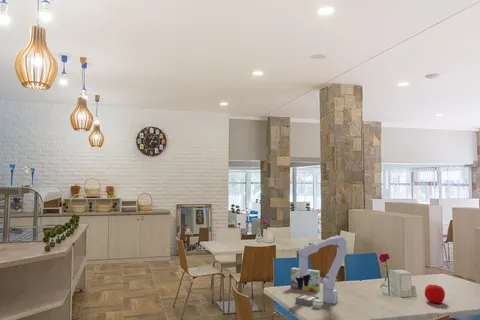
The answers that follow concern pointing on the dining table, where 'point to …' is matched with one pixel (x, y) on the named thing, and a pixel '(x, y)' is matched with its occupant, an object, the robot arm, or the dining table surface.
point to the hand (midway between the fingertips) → (303, 287)
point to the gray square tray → (304, 301)
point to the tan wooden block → (307, 297)
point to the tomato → (434, 293)
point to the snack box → (313, 281)
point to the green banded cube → (317, 303)
